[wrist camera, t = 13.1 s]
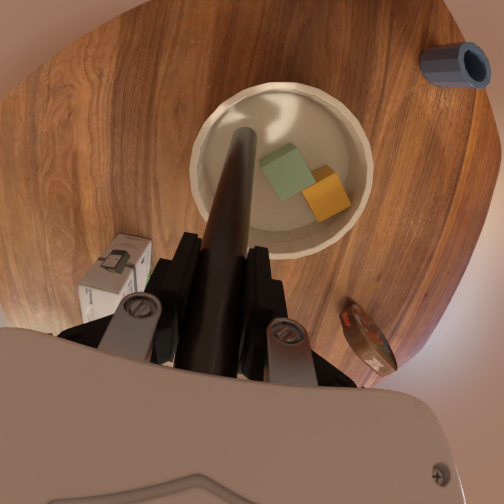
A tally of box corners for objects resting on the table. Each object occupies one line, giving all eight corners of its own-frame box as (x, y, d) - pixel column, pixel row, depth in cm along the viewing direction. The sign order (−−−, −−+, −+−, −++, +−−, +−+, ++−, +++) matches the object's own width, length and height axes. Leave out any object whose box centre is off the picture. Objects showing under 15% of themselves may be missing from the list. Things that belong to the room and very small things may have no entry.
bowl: (216, 72, 26) (209, 64, 21) (370, 113, 28) (393, 116, 23) (189, 219, 34) (178, 241, 29) (327, 246, 36) (340, 271, 31)
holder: (422, 41, 23) (461, 33, 16) (453, 60, 24) (493, 58, 17) (416, 75, 25) (455, 73, 18) (446, 93, 26) (487, 97, 19)
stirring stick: (228, 131, 22) (156, 378, 8) (251, 122, 22) (215, 375, 7) (238, 151, 24) (192, 401, 9) (260, 143, 23) (246, 399, 8)
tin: (388, 340, 45) (405, 376, 38) (373, 349, 46) (388, 386, 39) (347, 292, 40) (365, 332, 32) (329, 304, 41) (344, 346, 33)
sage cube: (290, 142, 29) (297, 147, 26) (308, 173, 31) (316, 182, 28) (258, 160, 30) (260, 167, 27) (277, 190, 32) (281, 201, 29)
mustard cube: (295, 180, 32) (301, 190, 28) (326, 164, 31) (336, 172, 27) (311, 209, 33) (318, 223, 30) (340, 194, 32) (351, 205, 29)
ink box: (150, 292, 39) (124, 353, 29) (118, 285, 39) (86, 342, 28) (153, 238, 35) (119, 294, 25) (117, 231, 35) (75, 283, 24)
